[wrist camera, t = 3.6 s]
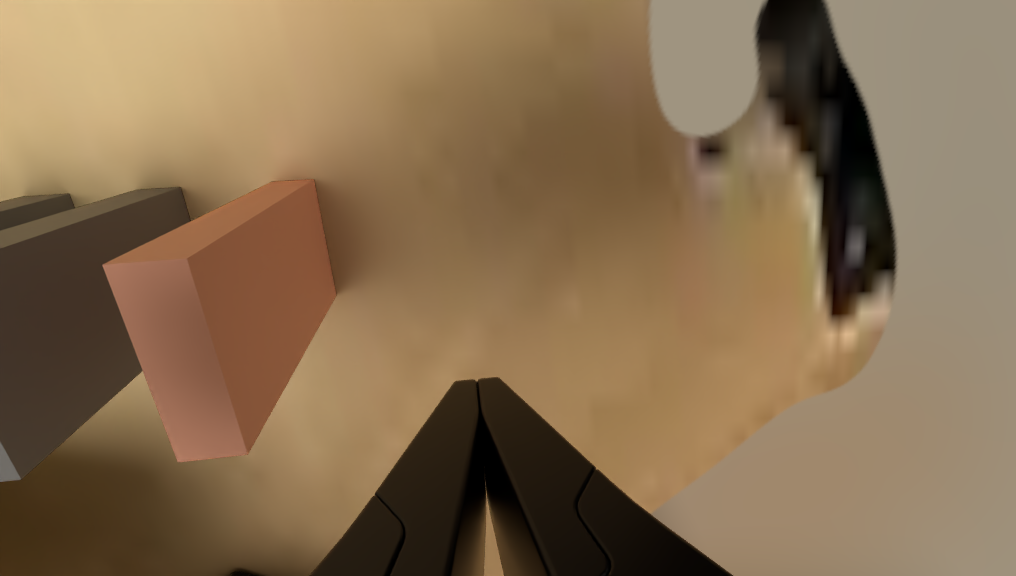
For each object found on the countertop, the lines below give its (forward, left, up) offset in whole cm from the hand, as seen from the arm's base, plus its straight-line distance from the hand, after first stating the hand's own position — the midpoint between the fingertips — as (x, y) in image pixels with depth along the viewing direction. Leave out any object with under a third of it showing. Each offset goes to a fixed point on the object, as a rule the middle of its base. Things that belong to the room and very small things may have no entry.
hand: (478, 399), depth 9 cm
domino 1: (+5, +4, -12) cm, 14 cm away
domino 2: (+9, +7, -12) cm, 17 cm away
